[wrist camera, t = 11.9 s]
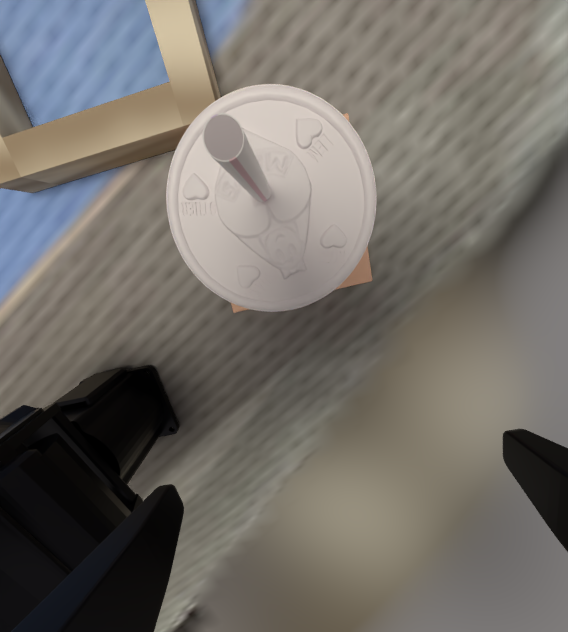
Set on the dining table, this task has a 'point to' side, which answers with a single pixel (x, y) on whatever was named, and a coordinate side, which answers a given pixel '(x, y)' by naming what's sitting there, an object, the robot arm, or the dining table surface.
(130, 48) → the dining table surface
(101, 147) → the holder
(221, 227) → the smoothie
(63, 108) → the dining table surface
